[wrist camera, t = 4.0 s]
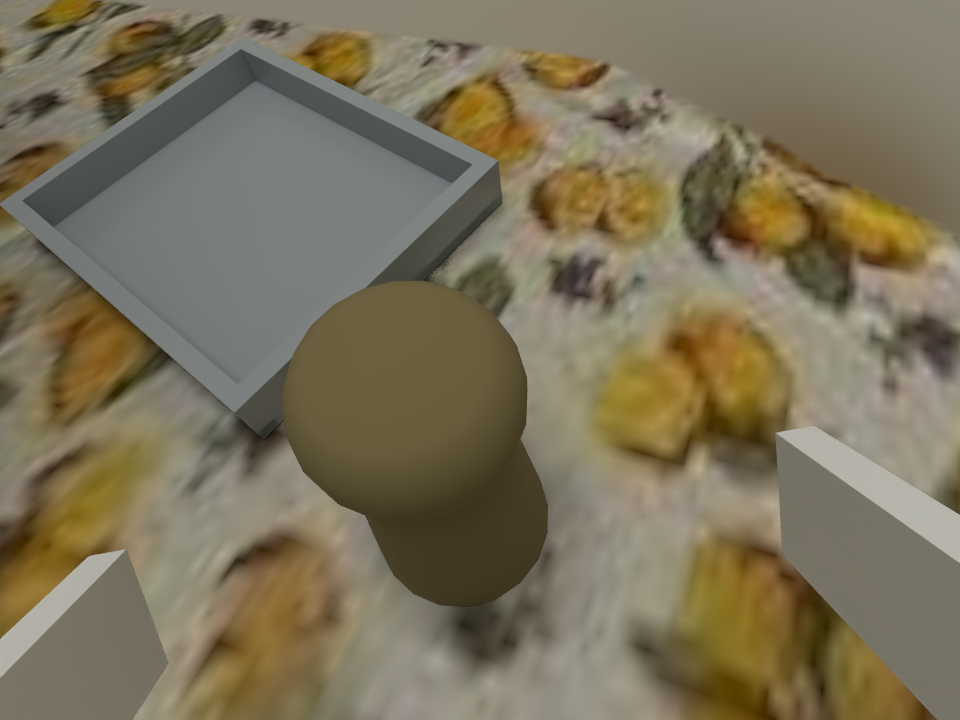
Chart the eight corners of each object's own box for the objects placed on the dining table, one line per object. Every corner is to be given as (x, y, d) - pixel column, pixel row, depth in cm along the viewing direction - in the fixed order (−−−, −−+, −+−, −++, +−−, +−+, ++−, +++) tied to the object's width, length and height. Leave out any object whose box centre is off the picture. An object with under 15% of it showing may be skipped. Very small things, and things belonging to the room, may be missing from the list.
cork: (437, 408, 23) (359, 201, 14) (578, 482, 21) (603, 300, 11) (342, 547, 21) (167, 414, 11) (491, 645, 19) (432, 585, 9)
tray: (38, 239, 30) (-2, 203, 28) (261, 78, 35) (243, 36, 33) (263, 439, 23) (234, 412, 21) (502, 202, 28) (498, 160, 26)
